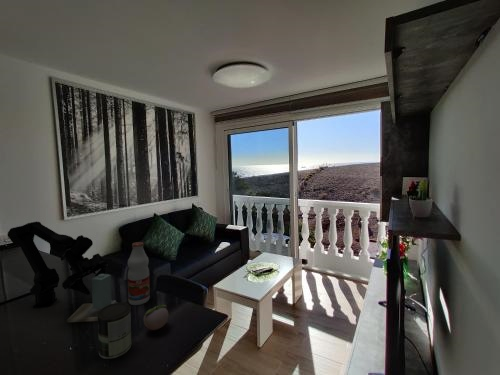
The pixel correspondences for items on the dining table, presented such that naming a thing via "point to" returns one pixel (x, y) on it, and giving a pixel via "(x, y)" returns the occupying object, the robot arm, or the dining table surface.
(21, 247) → the robot arm
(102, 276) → the pillar
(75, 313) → the board
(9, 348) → the dining table surface
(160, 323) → the decorative fruit
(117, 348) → the coffee can
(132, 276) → the fruit juice
